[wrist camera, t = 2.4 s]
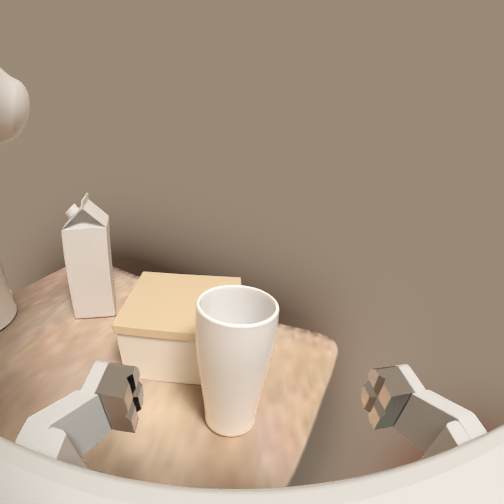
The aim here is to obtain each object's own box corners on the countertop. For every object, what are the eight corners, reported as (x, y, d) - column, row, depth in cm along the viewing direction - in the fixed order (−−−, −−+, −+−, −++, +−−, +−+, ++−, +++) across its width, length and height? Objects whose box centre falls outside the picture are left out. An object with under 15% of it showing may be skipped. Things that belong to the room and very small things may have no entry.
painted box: (122, 377, 33) (111, 325, 30) (147, 316, 46) (143, 271, 44) (240, 388, 34) (244, 336, 31) (237, 322, 48) (240, 277, 45)
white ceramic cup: (199, 445, 25) (194, 327, 20) (197, 399, 32) (194, 283, 26) (266, 441, 27) (290, 325, 21) (255, 397, 33) (270, 283, 28)
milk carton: (115, 296, 51) (108, 191, 45) (115, 317, 45) (105, 199, 38) (79, 298, 48) (67, 194, 42) (75, 319, 42) (58, 202, 36)
